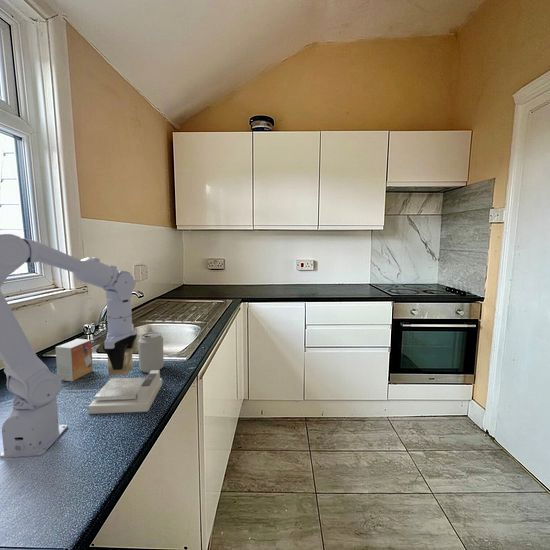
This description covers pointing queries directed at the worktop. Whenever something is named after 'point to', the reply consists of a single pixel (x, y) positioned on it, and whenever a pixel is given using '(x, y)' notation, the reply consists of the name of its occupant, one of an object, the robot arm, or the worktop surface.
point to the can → (150, 352)
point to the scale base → (139, 404)
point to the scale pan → (120, 389)
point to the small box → (74, 359)
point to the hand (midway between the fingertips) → (121, 365)
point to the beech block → (126, 365)
